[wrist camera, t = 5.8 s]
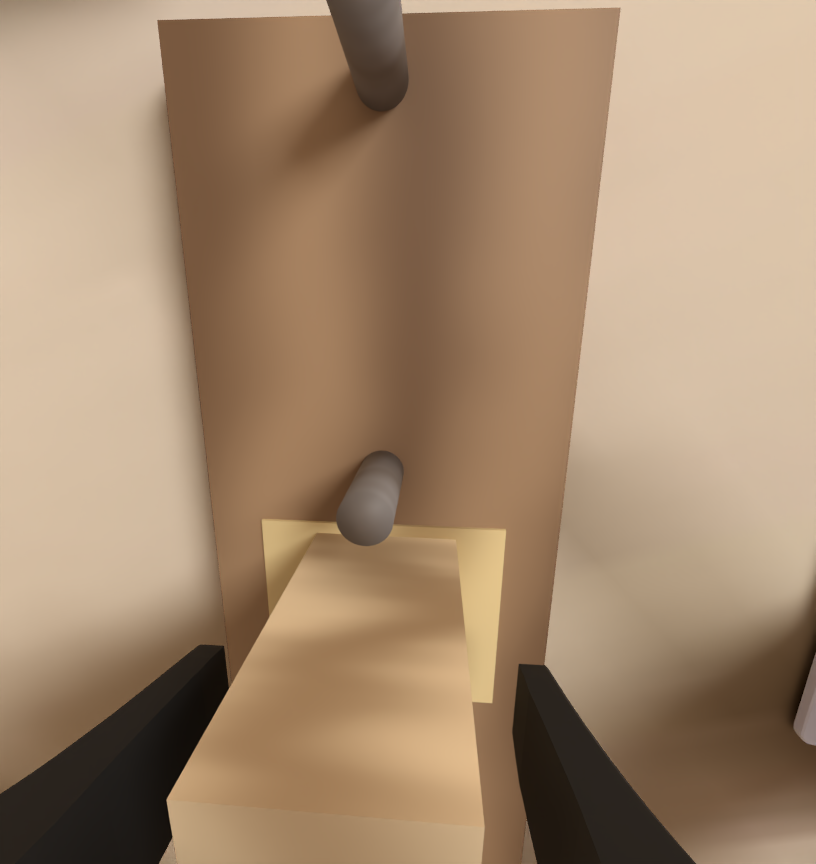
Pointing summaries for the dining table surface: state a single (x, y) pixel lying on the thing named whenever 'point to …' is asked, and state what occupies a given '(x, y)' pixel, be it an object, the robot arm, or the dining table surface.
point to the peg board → (393, 304)
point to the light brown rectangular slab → (344, 722)
